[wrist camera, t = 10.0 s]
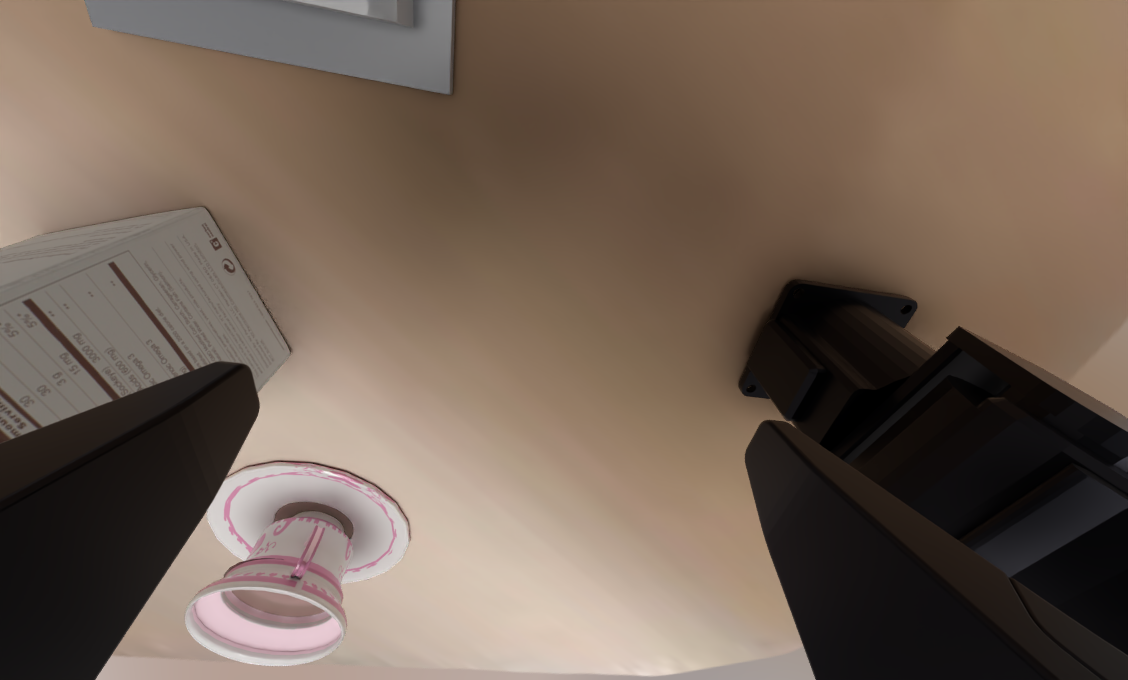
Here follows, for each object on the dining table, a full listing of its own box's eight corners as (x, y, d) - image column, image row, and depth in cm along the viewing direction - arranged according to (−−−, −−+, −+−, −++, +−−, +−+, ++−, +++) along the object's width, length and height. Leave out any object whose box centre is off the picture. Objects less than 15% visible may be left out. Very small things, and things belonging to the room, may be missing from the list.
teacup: (372, 592, 32) (338, 693, 27) (194, 544, 28) (115, 651, 23) (442, 502, 27) (418, 604, 22) (237, 428, 23) (148, 531, 18)
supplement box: (154, 377, 21) (-243, 688, 10) (36, 230, 17) (-787, 486, 7) (299, 355, 21) (43, 652, 10) (211, 201, 17) (-351, 420, 6)
